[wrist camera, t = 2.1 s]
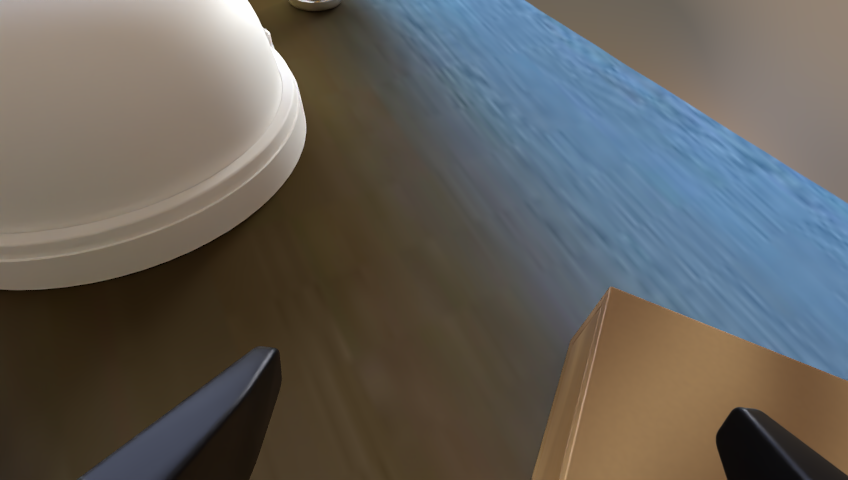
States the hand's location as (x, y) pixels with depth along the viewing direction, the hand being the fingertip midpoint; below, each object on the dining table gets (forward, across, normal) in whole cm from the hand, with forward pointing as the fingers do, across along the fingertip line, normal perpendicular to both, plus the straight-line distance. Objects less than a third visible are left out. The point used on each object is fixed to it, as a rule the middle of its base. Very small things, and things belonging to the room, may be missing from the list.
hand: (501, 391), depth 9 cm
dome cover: (+27, +28, +6) cm, 40 cm away
